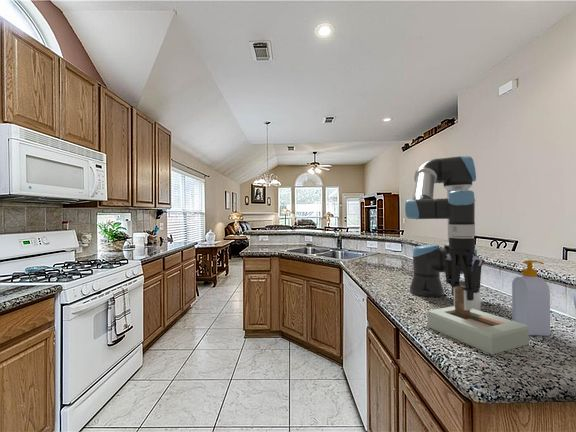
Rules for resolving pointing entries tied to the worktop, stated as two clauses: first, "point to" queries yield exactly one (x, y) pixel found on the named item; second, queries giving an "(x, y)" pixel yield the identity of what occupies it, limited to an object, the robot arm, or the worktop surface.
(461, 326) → the keyhole box
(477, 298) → the jar
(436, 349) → the worktop surface
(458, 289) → the bolt peg
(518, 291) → the soap bottle
